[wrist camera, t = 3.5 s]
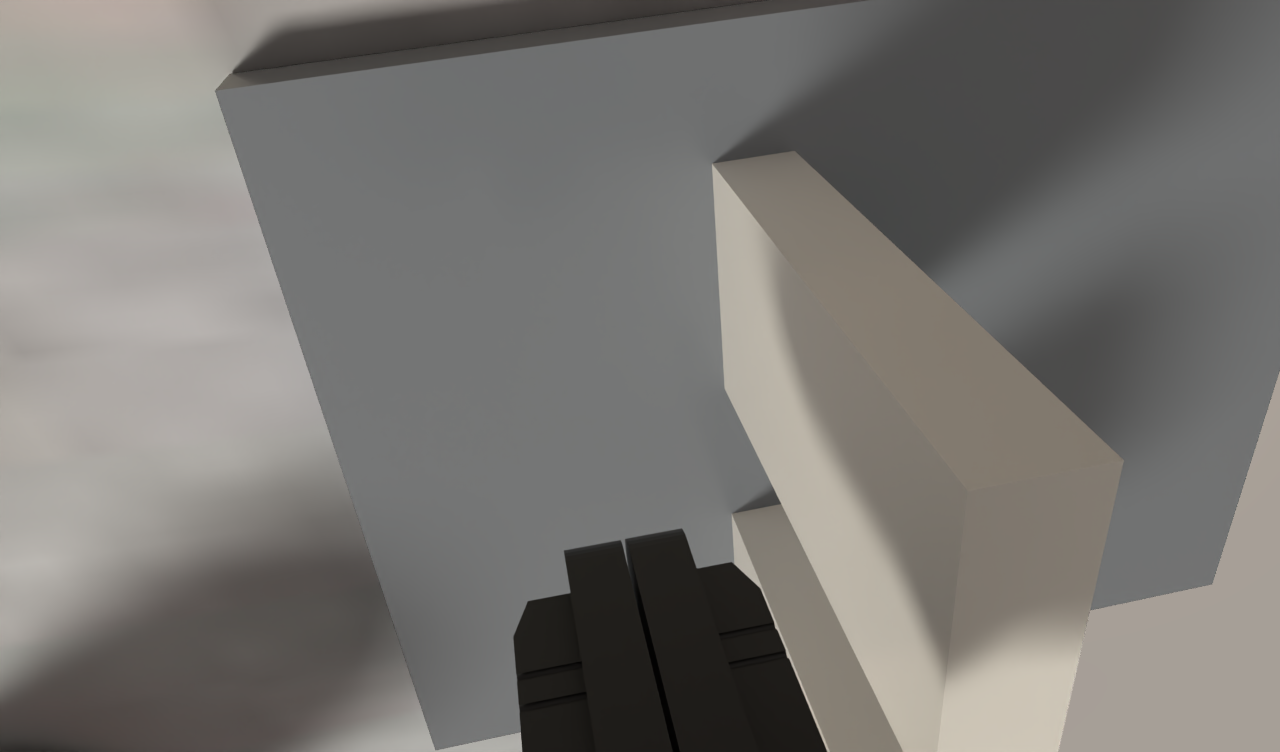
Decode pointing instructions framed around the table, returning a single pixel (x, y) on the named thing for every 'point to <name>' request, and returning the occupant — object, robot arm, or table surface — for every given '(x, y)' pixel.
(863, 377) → the tile
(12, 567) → the table surface
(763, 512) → the tile
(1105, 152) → the slate board
